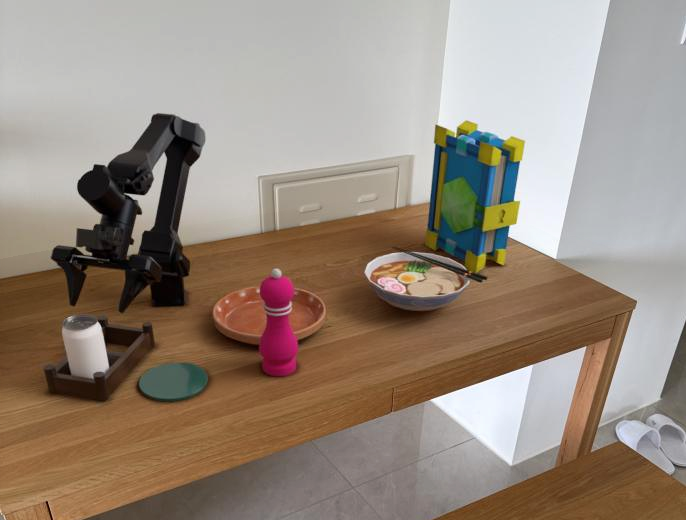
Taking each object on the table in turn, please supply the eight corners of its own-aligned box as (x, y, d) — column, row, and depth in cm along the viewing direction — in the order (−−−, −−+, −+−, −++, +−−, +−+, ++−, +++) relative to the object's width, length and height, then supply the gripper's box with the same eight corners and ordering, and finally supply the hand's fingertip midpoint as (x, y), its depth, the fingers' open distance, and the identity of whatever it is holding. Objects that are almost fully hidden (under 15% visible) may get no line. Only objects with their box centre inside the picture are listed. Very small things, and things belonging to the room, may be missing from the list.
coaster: (208, 363, 135) (208, 360, 134) (206, 399, 125) (206, 396, 125) (142, 366, 133) (142, 363, 133) (135, 403, 123) (135, 400, 123)
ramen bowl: (338, 300, 158) (338, 266, 153) (404, 271, 172) (407, 238, 167) (426, 342, 144) (430, 305, 140) (491, 306, 158) (496, 272, 154)
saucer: (190, 325, 147) (188, 309, 144) (271, 289, 161) (270, 274, 159) (269, 365, 135) (268, 348, 133) (348, 323, 150) (348, 307, 148)
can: (100, 393, 126) (87, 333, 119) (66, 387, 126) (52, 328, 120) (117, 373, 131) (107, 315, 124) (85, 369, 132) (72, 310, 125)
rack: (104, 337, 141) (100, 314, 139) (156, 344, 140) (153, 322, 137) (47, 393, 125) (41, 368, 122) (105, 402, 123) (100, 377, 121)
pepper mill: (260, 357, 137) (255, 260, 126) (298, 357, 138) (297, 260, 126) (259, 378, 131) (254, 278, 120) (299, 377, 132) (297, 278, 120)
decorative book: (471, 277, 171) (488, 148, 154) (413, 243, 186) (423, 123, 169) (515, 265, 177) (536, 140, 160) (456, 234, 193) (469, 117, 176)
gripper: (44, 200, 123) (21, 286, 120) (146, 212, 120) (125, 300, 117) (77, 228, 133) (56, 308, 131) (171, 239, 131) (152, 321, 128)
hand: (96, 309), depth 126 cm, fingers open, 9 cm apart
